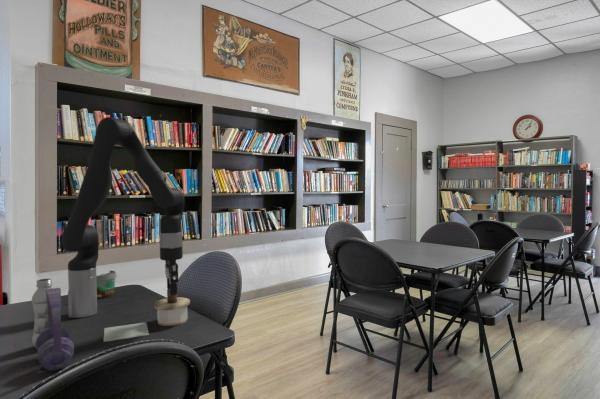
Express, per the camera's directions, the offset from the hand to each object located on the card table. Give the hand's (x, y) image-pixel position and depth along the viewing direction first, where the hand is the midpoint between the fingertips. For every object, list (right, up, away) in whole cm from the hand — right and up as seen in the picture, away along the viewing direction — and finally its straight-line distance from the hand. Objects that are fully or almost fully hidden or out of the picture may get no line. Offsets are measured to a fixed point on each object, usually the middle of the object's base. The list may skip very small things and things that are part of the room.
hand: (172, 291), depth 140 cm
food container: (-39, -10, +35) cm, 54 cm away
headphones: (-21, -12, -32) cm, 40 cm away
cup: (0, -11, 0) cm, 11 cm away
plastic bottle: (-31, -12, -21) cm, 39 cm away
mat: (-12, -11, -10) cm, 19 cm away
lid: (0, -5, 0) cm, 5 cm away
